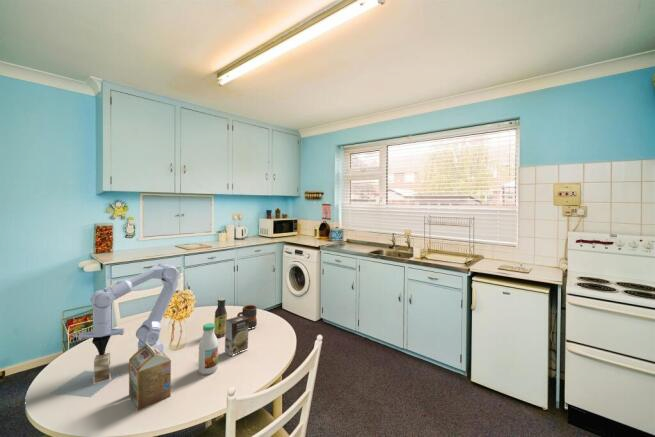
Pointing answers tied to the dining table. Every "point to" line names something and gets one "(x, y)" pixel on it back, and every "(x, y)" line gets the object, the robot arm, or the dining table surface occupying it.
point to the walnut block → (101, 375)
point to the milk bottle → (208, 350)
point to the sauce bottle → (220, 318)
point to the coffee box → (236, 334)
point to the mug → (250, 314)
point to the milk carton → (149, 377)
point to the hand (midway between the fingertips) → (102, 354)
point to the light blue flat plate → (83, 385)
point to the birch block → (101, 362)
